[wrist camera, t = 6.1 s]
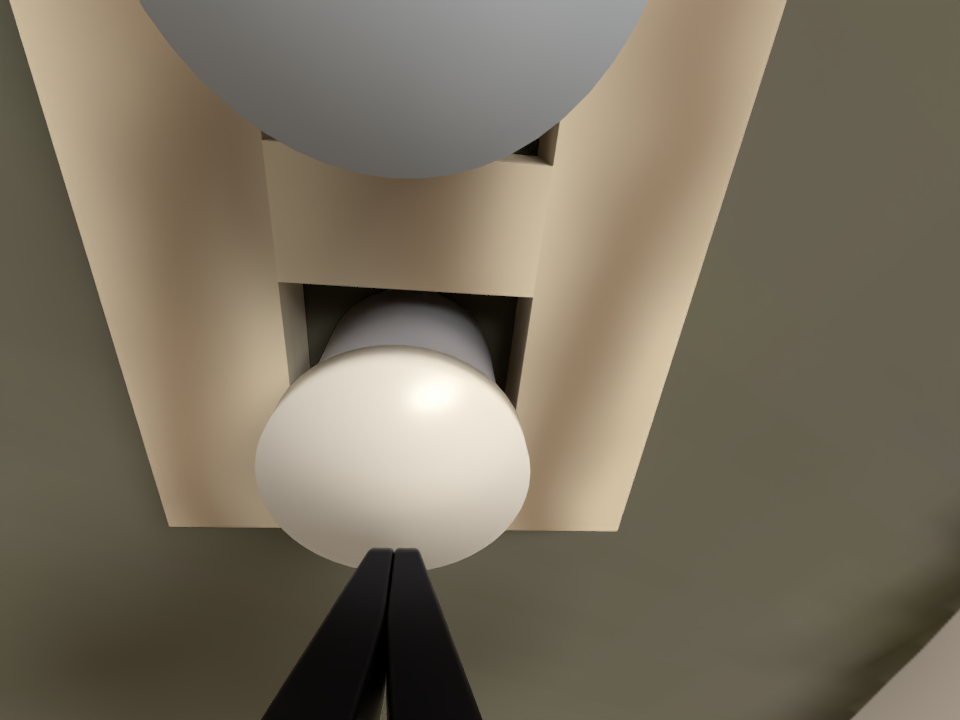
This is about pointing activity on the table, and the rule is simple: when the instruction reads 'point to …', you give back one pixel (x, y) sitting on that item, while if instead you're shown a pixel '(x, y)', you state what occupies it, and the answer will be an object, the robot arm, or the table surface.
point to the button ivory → (396, 438)
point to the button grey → (399, 72)
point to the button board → (394, 244)
